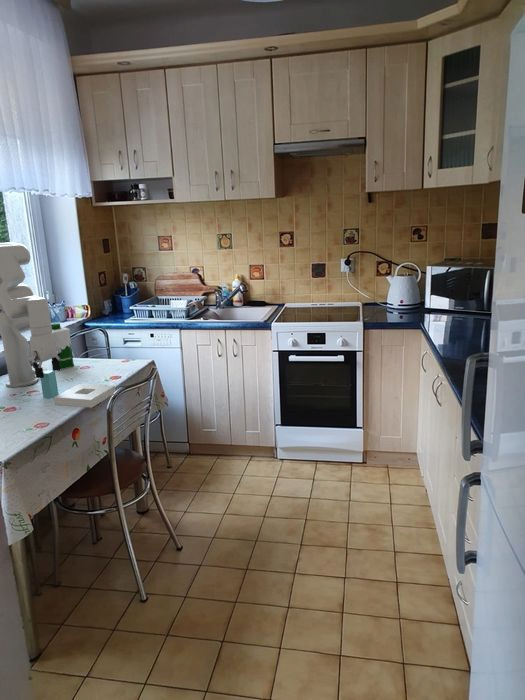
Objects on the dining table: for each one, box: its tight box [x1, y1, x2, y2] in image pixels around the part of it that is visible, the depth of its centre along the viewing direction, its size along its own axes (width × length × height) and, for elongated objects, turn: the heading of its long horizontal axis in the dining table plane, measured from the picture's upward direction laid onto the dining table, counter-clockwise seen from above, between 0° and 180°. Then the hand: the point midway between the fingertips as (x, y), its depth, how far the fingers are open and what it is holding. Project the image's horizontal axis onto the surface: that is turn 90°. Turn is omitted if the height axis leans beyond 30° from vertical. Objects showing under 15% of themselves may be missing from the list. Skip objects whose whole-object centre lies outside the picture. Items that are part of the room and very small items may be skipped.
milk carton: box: [51, 322, 75, 370], centre depth 245 cm, size 9×9×20 cm
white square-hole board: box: [53, 383, 116, 408], centre depth 205 cm, size 22×16×3 cm
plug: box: [39, 369, 60, 399], centre depth 206 cm, size 4×4×10 cm
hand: (48, 374), depth 204 cm, fingers open, 9 cm apart
